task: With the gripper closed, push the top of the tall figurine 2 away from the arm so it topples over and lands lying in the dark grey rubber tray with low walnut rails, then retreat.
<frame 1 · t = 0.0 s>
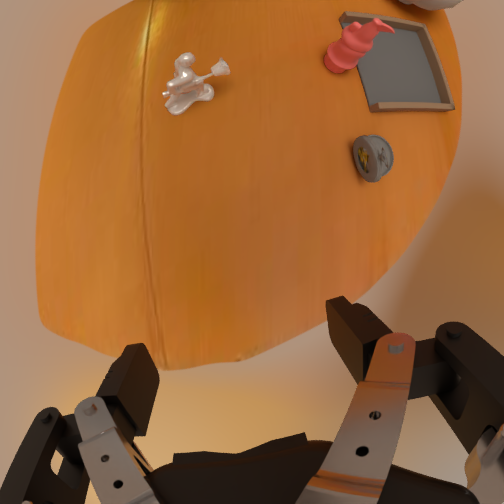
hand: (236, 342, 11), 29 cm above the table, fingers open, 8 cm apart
pocket watch: (366, 156, 39), on the table
tray: (395, 63, 35), on the table
figurine: (196, 94, 35), on the table
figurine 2: (335, 62, 35), on the table
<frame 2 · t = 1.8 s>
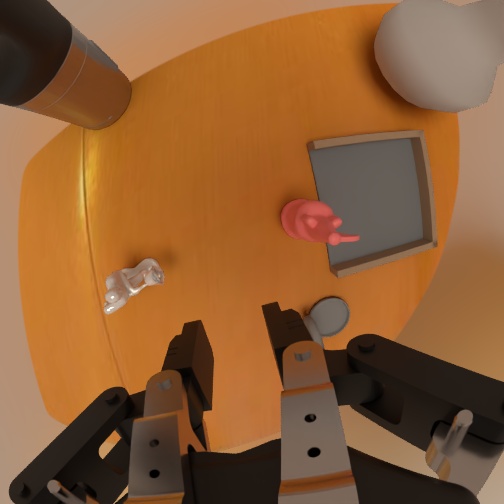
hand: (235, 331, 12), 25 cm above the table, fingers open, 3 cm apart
pocket watch: (320, 316, 41), on the table
vase: (397, 73, 33), on the table
tray: (373, 197, 37), on the table
figurine: (142, 268, 37), on the table
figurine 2: (295, 214, 37), on the table
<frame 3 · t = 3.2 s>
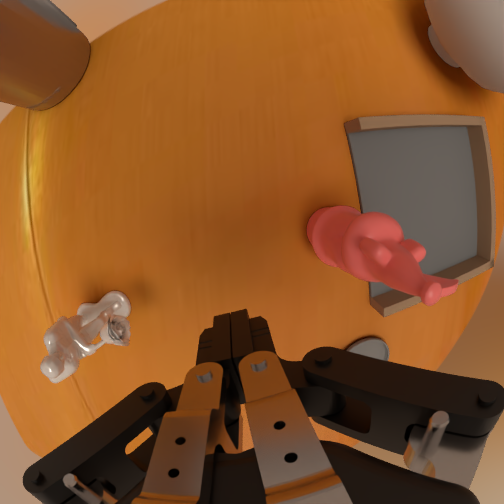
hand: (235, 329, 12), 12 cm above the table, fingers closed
pocket watch: (351, 361, 29), on the table
vase: (445, 45, 20), on the table
tray: (428, 203, 25), on the table
figurine: (107, 304, 25), on the table
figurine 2: (327, 227, 25), on the table
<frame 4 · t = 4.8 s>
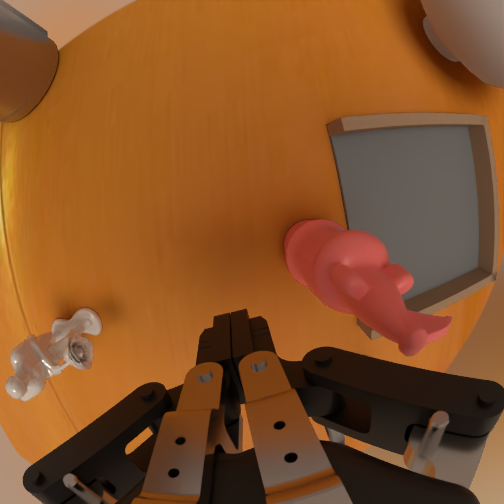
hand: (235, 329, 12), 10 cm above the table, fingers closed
vase: (442, 38, 18), on the table
tray: (424, 212, 22), on the table
figurine: (80, 320, 22), on the table
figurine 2: (308, 242, 22), on the table
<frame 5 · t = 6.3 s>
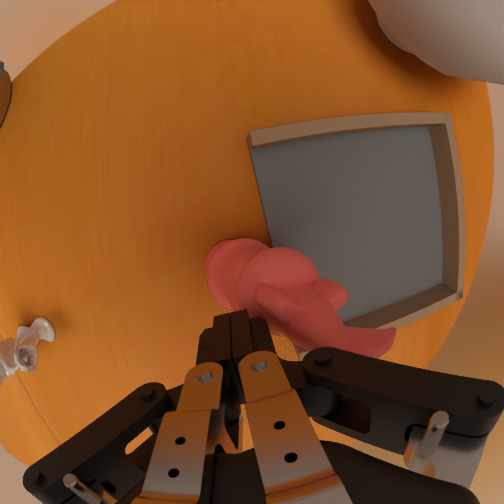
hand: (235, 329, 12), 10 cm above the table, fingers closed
vase: (402, 29, 18), on the table
tray: (368, 226, 22), on the table
figurine: (38, 328, 22), on the table
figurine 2: (230, 263, 22), on the table, touching gripper
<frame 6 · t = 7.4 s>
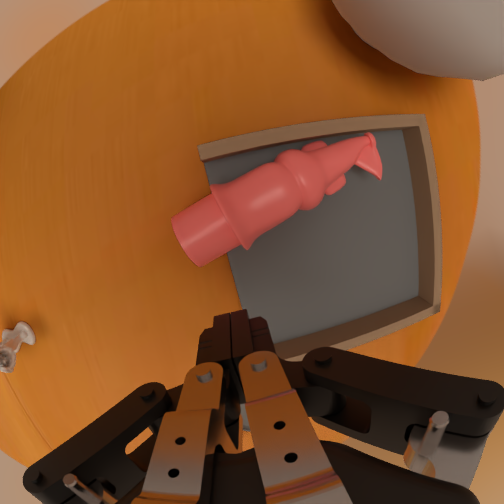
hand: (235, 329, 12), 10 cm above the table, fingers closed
vase: (376, 26, 18), on the table
tray: (332, 237, 22), on the table
figurine: (20, 331, 22), on the table
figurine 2: (186, 244, 19), point 3 cm above the table, touching tray
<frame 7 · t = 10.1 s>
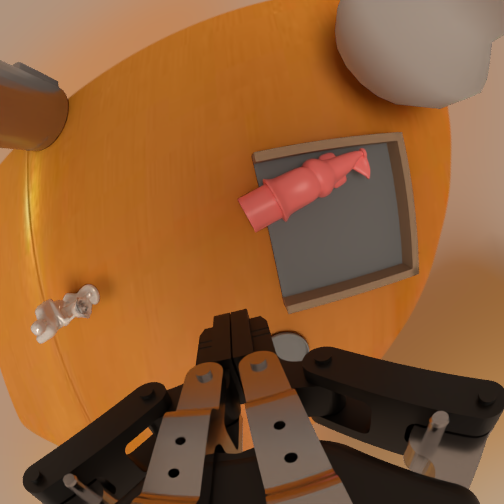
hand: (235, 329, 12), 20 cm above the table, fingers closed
pocket watch: (274, 352, 36), on the table
vase: (371, 65, 28), on the table
tray: (338, 217, 32), on the table
figurine: (84, 294, 32), on the table
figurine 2: (245, 217, 29), point 3 cm above the table, touching tray
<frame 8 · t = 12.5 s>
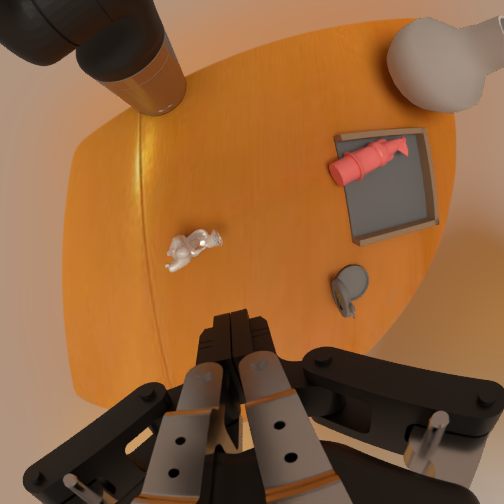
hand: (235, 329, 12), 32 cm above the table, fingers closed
pocket watch: (344, 283, 48), on the table
vase: (404, 80, 39), on the table
tray: (386, 182, 44), on the table
figurine: (193, 238, 44), on the table
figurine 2: (335, 176, 40), point 3 cm above the table, touching tray
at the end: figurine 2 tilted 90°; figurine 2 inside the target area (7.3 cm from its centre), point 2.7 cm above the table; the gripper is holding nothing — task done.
